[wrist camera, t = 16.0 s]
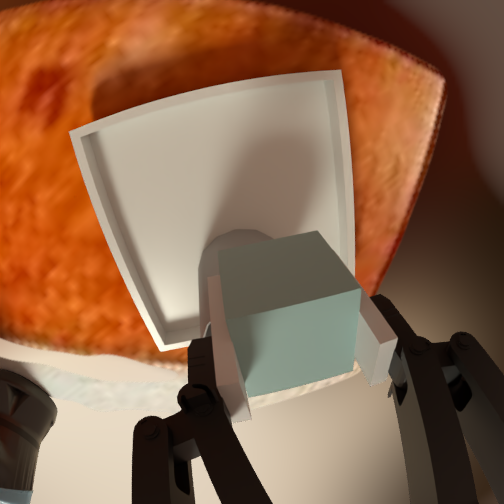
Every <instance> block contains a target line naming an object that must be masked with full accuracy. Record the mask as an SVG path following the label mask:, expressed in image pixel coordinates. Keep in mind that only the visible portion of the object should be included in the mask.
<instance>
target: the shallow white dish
mask: <svg viewBox="0 0 504 504" xmlns="http://www.w3.org/2000/svg"><path fill="white" fill-rule="evenodd" d="M69 133H70V137H71V140H72V144H73V147H74V150H75V154H76V157H77V160H78V163H79V167H80V170H81V173H82V176H83V179H84V182H85V185H86V188H87V190H88V193H89V196H90V199H91V202H92V204H93V207H94V210H95V212H96V215H97V218H98V220H99V223H100V225H101V228H102V230H103V233H104V235H105V238H106V240H107V243H108V245H109V248H110V250H111V252H112V255H113V257H114V259H115V261H116V264H117V266H118V268H119V270H120V273H121V275H122V277H123V279H124V281H125V283H126V286H127V288H128V290H129V292H130V294H131V296H132V298H133V300H134V302H135V304H136V306H137V308H138V310H139V312H140V314H141V316H142V318H143V320H144V322H145V324H146V326H147V328H148V330H149V331H150V333H151V335H152V337H153V339H154V341H155V343H156V344H157V346H158V348H159V350H160V352H161V351H167V350H172V349H177V348H183V347H188V346H189V345H190V343H191V341H192V339H198V338H200V317H199V289H198V266H199V263H200V259H201V256H202V252H203V250H204V249H205V248H206V247H207V246H208V245H209V244H210V243H211V242H212V241H213V240H214V239H215V238H216V237H217V236H220V235H222V234H225V233H227V232H230V231H232V230H235V229H250V230H258V231H260V232H262V233H264V234H266V235H268V236H270V237H272V238H273V239H277V238H282V237H287V236H291V235H296V234H301V233H306V232H311V231H316V230H318V232H319V233H320V234H321V235H322V237H323V238H324V239H325V241H326V242H327V243H328V244H329V246H330V247H331V248H332V250H334V251H335V252H336V254H337V255H338V256H339V257H340V259H341V260H342V261H343V263H344V264H345V265H346V267H347V268H348V269H349V271H350V272H351V273H352V275H353V276H354V277H355V220H354V194H353V176H352V161H351V149H350V138H349V128H348V118H347V110H346V102H345V94H344V87H343V80H342V73H341V70H327V71H313V72H302V73H292V74H283V75H275V76H268V77H261V78H254V79H248V80H242V81H237V82H231V83H226V84H221V85H216V86H211V87H207V88H202V89H198V90H194V91H190V92H186V93H182V94H178V95H174V96H170V97H167V98H163V99H160V100H156V101H153V102H149V103H146V104H143V105H140V106H137V107H133V108H130V109H127V110H124V111H121V112H119V113H116V114H113V115H110V116H107V117H105V118H102V119H99V120H97V121H94V122H92V123H89V124H87V125H84V126H82V127H79V128H77V129H74V130H72V131H70V132H69Z"/></svg>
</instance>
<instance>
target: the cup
mask: <svg viewBox="0 0 504 504" xmlns="http://www.w3.org/2000/svg"><path fill="white" fill-rule="evenodd" d="M272 239H273V238H272V237H270V236H268V235H266V234H264V233H262V232H260V231H258V230H250V229H235V230H232V231H230V232H227V233H225V234H222V235H220V236H217V237H216V238H215V239H214V240H213V241H212V242H211V243H210V244H209V245H208V246H207V247H206V248H205V249H204V250H203V252H202V256H201V259H200V263H199V266H198V289H199V317H200V338H203V337H209V336H212V333H211V321H210V308H209V295H208V281H207V277H211V276H216V275H220V272H219V263H218V254H217V251H219V250H224V249H229V248H234V247H238V246H243V245H248V244H253V243H258V242H262V241H267V240H272Z"/></svg>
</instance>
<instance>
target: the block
mask: <svg viewBox="0 0 504 504" xmlns="http://www.w3.org/2000/svg"><path fill="white" fill-rule="evenodd" d="M217 254H218V263H219V272H220V280H221V289H222V297H223V305H224V313H225V320H226V324H227V327H228V331H229V334H230V338H231V341H232V342H233V345H234V349H235V352H236V356H237V359H238V362H239V366H240V369H241V373H242V376H243V379H244V383H245V388H246V391H247V394H248V397H254V396H259V395H264V394H268V393H273V392H277V391H282V390H286V389H290V388H294V387H298V386H302V385H306V384H309V383H313V382H317V381H320V380H324V379H327V378H331V377H334V376H337V375H341V374H344V373H347V372H350V371H353V365H354V357H355V356H354V352H355V344H356V336H357V327H358V317H359V311H360V300H361V287H360V285H359V284H358V283H357V281H356V280H355V279H354V277H353V276H352V274H351V273H350V272H349V270H348V269H347V268H346V267H345V265H344V264H343V263H342V261H341V260H340V259H339V257H338V256H337V255H336V253H335V252H334V251H333V250H332V248H331V247H330V246H329V244H328V243H327V242H326V241H325V239H324V238H323V237H322V235H321V234H320V233H319V232H318V230H316V231H311V232H306V233H301V234H296V235H291V236H287V237H282V238H277V239H272V240H267V241H262V242H258V243H253V244H248V245H243V246H238V247H234V248H229V249H224V250H219V251H217Z"/></svg>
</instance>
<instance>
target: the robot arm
mask: <svg viewBox="0 0 504 504" xmlns="http://www.w3.org/2000/svg"><path fill="white" fill-rule="evenodd" d="M333 251H334V250H333ZM334 252H335V251H334ZM335 253H336V252H335ZM336 255H337V254H336ZM337 256H338V255H337ZM338 257H339V256H338ZM339 259H340V257H339ZM340 260H341V259H340ZM341 261H342V260H341ZM342 263H343V261H342ZM343 264H344V263H343ZM344 265H345V264H344ZM345 267H346V265H345ZM346 268H347V267H346ZM347 269H348V268H347ZM348 270H349V269H348ZM349 272H350V271H349ZM350 273H351V272H350ZM351 274H352V273H351ZM352 276H353V275H352ZM353 277H354V276H353ZM354 279H355V277H354ZM355 280H356V279H355ZM207 281H208V295H209V308H210V321H211V333H212V336H209V337H203V338H198V339H192V341H191V343H190V345H189V347H188V384H186V385H184V386H183V387H182V388H181V389H180V391H179V393H178V396H177V401H178V404H179V405H180V407H181V409H182V410H181V411H179V412H178V413H176V414H174V415H172V416H169V417H167V418H165V419H161V418H159V417H157V416H148V417H144V418H143V419H141V420H140V421H138V423H137V424H136V425H135V428H134V432H133V452H132V504H195V497H194V487H193V478H192V467H191V459H194V458H196V457H199V456H201V457H202V460H203V462H204V465H205V467H206V470H207V472H208V474H209V477H210V479H211V481H212V484H213V486H214V488H215V490H216V493H217V495H218V497H219V499H220V501H221V503H222V504H273V503H272V502H271V500H270V498H269V496H268V495H267V493H266V491H265V489H264V488H263V486H262V484H261V482H260V480H259V479H258V477H257V475H256V473H255V471H254V469H253V468H252V466H251V464H250V462H249V460H248V458H247V456H246V454H245V452H244V450H243V448H242V446H241V444H240V442H239V440H238V438H237V436H236V434H235V432H234V431H233V428H232V422H233V423H236V422H242V421H247V420H251V414H250V409H249V403H248V398H247V393H246V388H245V383H244V379H243V376H242V373H241V369H240V366H239V362H238V359H237V356H236V352H235V349H234V345H233V342H232V341H231V338H230V334H229V331H228V327H227V324H226V320H225V313H224V305H223V297H222V289H221V280H220V275H216V276H211V277H207ZM356 281H357V280H356ZM357 283H358V281H357ZM358 284H359V283H358ZM359 285H360V284H359ZM360 287H361V285H360ZM354 356H355V358H356V360H357V362H358V364H359V366H360V368H361V370H362V372H363V374H364V376H365V377H366V379H367V381H368V383H369V385H370V387H371V386H373V385H376V384H379V383H382V382H384V381H386V379H387V376H388V373H389V375H390V376H391V378H392V383H391V386H390V389H389V392H388V398H389V397H391V394H393V399H394V403H395V408H396V413H397V418H398V423H399V428H400V434H401V440H402V445H403V452H404V457H405V464H406V471H407V478H408V486H409V494H410V504H479V503H478V500H477V496H476V489H475V484H474V480H473V474H472V470H471V465H470V461H469V456H468V452H467V448H466V444H465V440H464V437H463V434H464V436H465V438H466V440H467V442H468V444H469V445H470V447H471V449H472V451H473V453H474V455H475V457H476V458H477V460H478V462H479V464H480V466H481V468H482V470H483V472H484V474H485V476H486V478H487V480H488V482H489V484H490V486H491V488H492V490H493V492H494V494H495V496H496V499H497V501H498V503H499V504H504V375H503V373H502V372H501V371H500V369H499V368H498V367H497V365H496V364H495V363H494V361H493V360H492V359H491V358H490V356H489V355H488V354H487V352H486V351H485V350H484V349H483V347H482V346H481V345H480V344H479V342H478V341H477V340H476V339H475V338H474V337H473V336H472V335H471V334H469V333H467V332H457V333H455V334H453V335H452V337H451V339H450V341H449V342H439V343H431V342H430V341H429V340H427V339H426V338H424V337H420V336H417V335H416V334H415V333H414V331H413V330H412V329H411V327H410V326H409V324H408V323H407V322H406V320H405V319H404V318H403V317H402V315H401V314H400V313H399V311H398V310H397V309H396V308H395V306H394V305H393V304H392V302H391V301H390V300H389V299H388V298H386V297H384V296H383V295H381V294H379V295H375V296H372V297H369V296H368V295H367V293H366V292H365V291H364V289H363V288H362V287H361V300H360V311H359V317H358V327H357V336H356V344H355V352H354ZM56 416H57V408H56V405H55V403H54V402H53V401H52V399H51V398H50V397H49V396H48V395H47V394H46V393H45V392H44V391H43V390H41V389H40V388H39V387H38V386H36V385H35V384H33V383H32V382H30V381H29V380H27V379H25V378H23V377H22V376H20V375H17V374H15V373H13V372H10V371H6V370H1V369H0V504H30V500H31V496H32V493H33V482H34V476H35V469H36V463H37V457H38V452H39V448H40V444H41V442H42V440H43V439H44V437H45V436H46V434H47V433H48V432H49V430H50V428H51V427H52V426H53V425H54V423H55V419H56ZM231 420H232V421H231Z"/></svg>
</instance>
